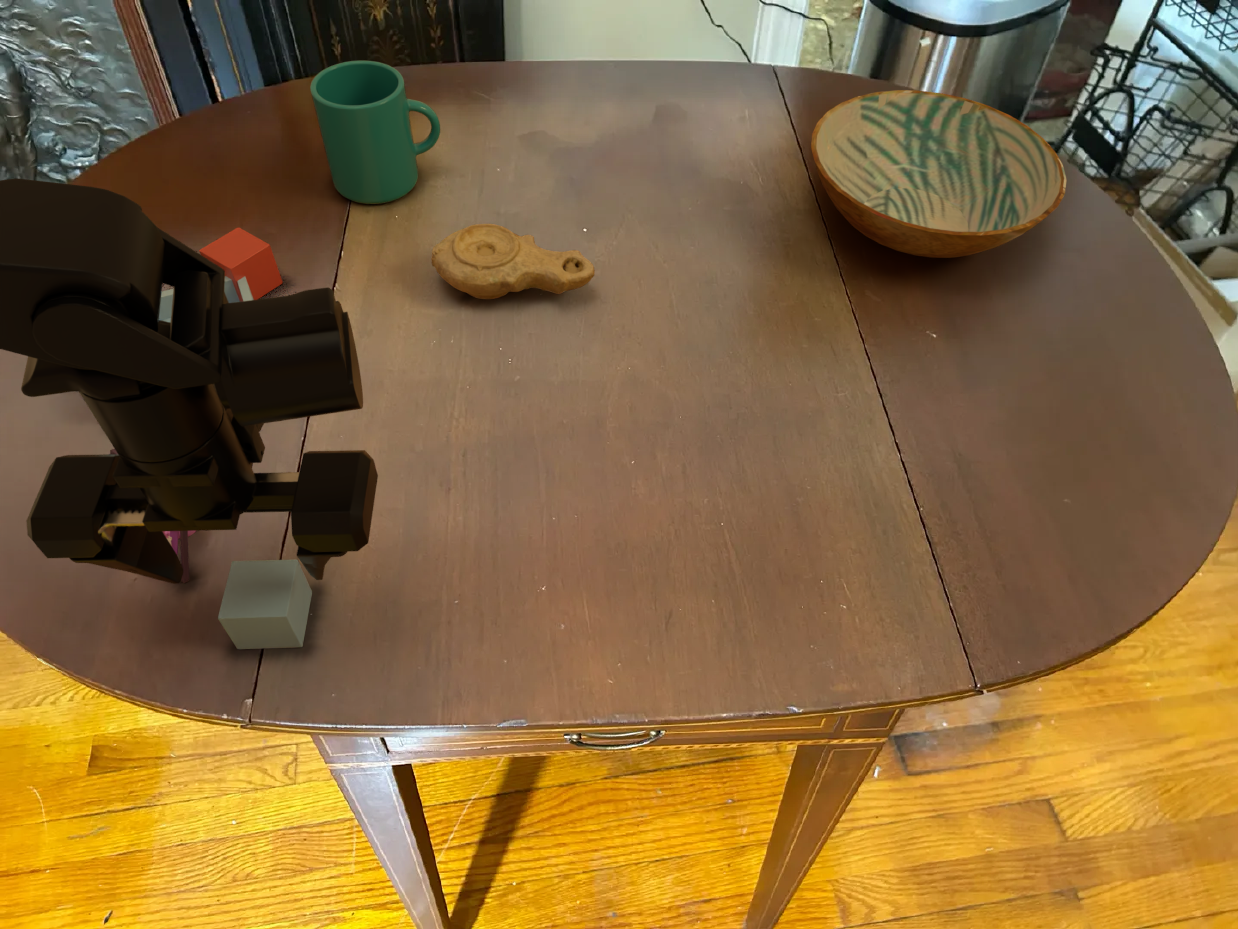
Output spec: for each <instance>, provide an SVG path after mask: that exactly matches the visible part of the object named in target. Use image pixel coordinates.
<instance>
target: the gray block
mask: <svg viewBox="0 0 1238 929" xmlns="http://www.w3.org/2000/svg"><path fill="white" fill-rule="evenodd" d="M312 596H313V590H312V589H311V586H310V583H309V581H308V579H307V577H306V574H305V573H304V571H303V569H302V566H301V564H300V562H299V559H298V558H296V559H264V560H263V559H261V560H259V559H257V560H232V561H231V564H230V568H229V571H228V574H227V579H226V583H225V588H224V592H223V596H222V598H221V599H222V600H221V602H220V608H219V612H218V615H217V619H218V621H219V623H220V624H221V626H222V628H223V629H224V630H225V632H226V634H227V635H228V637H229V639H230V640H231V641H232V643H233V644H234V646H235V647H236V649H237V650H254V649H255V650H257V649H259V650H260V649H291V648H303V646H304V640H305V635H306V629H307V624H308V619H309V614H310V607H311V602H312Z"/></svg>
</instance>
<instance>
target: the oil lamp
mask: <svg viewBox="0 0 1238 929" xmlns="http://www.w3.org/2000/svg"><path fill="white" fill-rule="evenodd" d="M430 260H431V265H432V267H433V268H434V269H435V270H436V272H437V274H438V275H439V276H440V277H441V279H442V280H444V281H445V282H446V283H448V284H449V285H450V286H451V287H452V288H455V289H456V290H458V291H460V292H463V293H467V294H468V295H469V296H471V297H473V298H476V299H481V300H493V299H499V298H502V297H504V296H506V295H508V293H518V292H521V291H523V290H529V289H539V290H542V291H547V292H550V293H554V294H556V295H560V294H563V293H564V292H568V291H573V290H578V289H579V288H582V287H584V286H585V285H587V284H589V283H590V282H591V280H592V279H593V278H594V276H595V271H596V270H595V266H594V264H593V263H592V262H591V261H590V260H589V259H588V258H586V257H585V256H584V255H582V253H581V251H580V250H577V249H571V250H566V251H555V250H548V249H545V248H542V247H540V246H538V245H537V244H536V241H535V237H534V235H531V234H525V235H522V236H520V235H518V234H517V233H514V231H513V232H512V230H510V229H508V228H507V227H505V226H503V225H499V224H494V223H479V224H478V223H477V224H476V223H475V224H471V225H468V226H467V227H464V228H462V229H459V230H457V231H455V232H453V233H451V234H449V235H448V236H446V237H444V238H443V239H442V240H441V241H440V242H439V243H436V244H435V245H434V246H433V248H432V250H431V259H430Z"/></svg>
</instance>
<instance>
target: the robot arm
mask: <svg viewBox="0 0 1238 929" xmlns="http://www.w3.org/2000/svg"><path fill="white" fill-rule="evenodd" d="M163 284H164V285H167V286H171V287H173V288H172V289H173V301H172V312H171V323H170V322H166V321H161V320H159V313H160V303H161V293H162V291H163ZM224 286H225V271H224V270H223V269H222V268H221V267H219V266H218V265H216V264H214V263H213V262H211V261H210V260H208V259H207V258H205V257H203V256H202V255H201V254H200V252H197V251H196V250H194V249H193V248H191V247H189V246H188V245H186V244H184V243H183V242H181V241H180V240H178V239H177V238H175V237H173V236H172V235H170V234H169V233H167V232H166V231H164V230H163V229H161V228H159V227H158V226H157V225H156V224H155V223H154V222H153V221H152V220H151V219H150V218H149V217H148V216H147V214H146V213H145V212H143V208H142V206H141V205H140V204H139V203H137V202H135V201H133V200H132V199H130V198H129V197H127V196H125V195H122V194H119V193H117V192H114V191H112V190H109V189H106V188H100V187H96V186H88V185H79V184H73V183H71V184H70V183H63V182H53V181H46V180H45V181H44V180H35V179H26V178H17V177H16V178H7V179H0V350H3V351H5V352H10V353H14V354H18V355H20V356H21V355H22V356H25V357H27V359H26V364H25V368H24V372H23V377H22V382H21V387H20V391H21V393H22V394H23V395H24V396H26V397H29V398H30V397H31V398H36V397H44V396H51V395H57V394H66V393H73V392H74V393H75V392H77V393H79V395H80V396H81V398H82V400H83V401H84V402H85V404H86V405H87V407H88V408H89V410H90V412H91V413H92V415H93V416H94V418H95V419H96V422H97V423H98V424H99V426H100V428H101V429H102V431H103V432H104V434H105V436H106V438H107V439H108V440H109V442H110V443H111V445H112V447H113V449H115V450H116V452H117V453H118V454H110V453H109V454H105V453H103V454H66V455H61V456H56V457H55V459H54V460H53V461H52V463H51V464H50V465H49V467H48V470H47V471H46V473H45V476H44V478H43V481H42V483H41V486H40V488H39V490H38V493H37V495H36V497H35V499H34V502H33V503H32V506H31V508H30V511H29V514H28V516H27V518H26V521H25V522H26V531H27V532H26V534H27V537H28V538H30V540H31V541H32V543H34V544H35V545H36V547H37V548H38V549H39V550H40V552H41V553H42V554H43V555H44V556H45V557H46V559H69V560H70V561H71V562H74V563H76V564H90V565H94V566H99V567H103V568H107V569H112V570H117V571H122V572H127V573H131V574H134V575H139V576H143V577H146V578H149V579H150V578H151V579H155V580H158V581H162V582H165V583H169V584H174V585H175V584H177V585H179V584H181V583H182V581H181V579H182V575H183V567H182V565H181V559H180V558H179V556H178V554H176V552H175V551H174V549H173V548H172V546H171V544H170V543H169V541H168V540H167V538H166V537H165V535H164V533H163V532H162V531H196V532H199V531H201V532H202V531H237V529H238V524H239V521H240V516H241V515H243V514H246V513H288V512H290V523H291V536H292V539H293V541H294V543H295V545H296V546H297V550H296V557H297V559H298V561H300V563H301V564H302V566H303V567H304V568H305V570H306V572H307V573H308V574H309V576H310V577H311V578H313V579H314V580H315V581H322V580H323V579H324V574H325V568H326V565H327V563H328V562H329V561H330V560H331V559H332V558H341V557H343V556H345V555H347V553H348V552H349V553H350V552H359V551H360V550H362V549H363V548H364V547H365V546H366V545H368V544H369V542H370V536H371V535H370V534H371V527H372V519H373V513H374V508H375V507H374V505H375V500H376V492H377V486H378V485H377V484H378V478H379V474H378V471H377V467H376V463H375V460H374V458H373V457H372V456H371V455H370V454H369V453H368V452H367V451H366V450H365V449H361V450H360V449H359V450H358V449H357V450H355V449H353V450H349V449H348V450H309V451H306V452H303V454H302V459H301V462H300V468H299V471H292V472H291V471H290V472H289V471H288V472H287V471H286V472H285V471H283V472H254V469H253V465H254V464H261V463H262V462H263V458H264V454H265V450H266V445H265V443H264V441H263V439H262V436H261V433H260V432H261V430H262V429H263V427H264V425H265V424H270V423H277V422H283V421H289V420H296V419H303V418H310V417H316V416H322V415H323V416H325V415H329V414H337V413H344V412H351V411H357V410H363V408H364V392H363V384H362V377H361V370H360V363H359V359H358V358H359V357H358V352H357V351H358V350H357V346H356V341H355V338H354V333H353V328H352V323H351V320H350V316H349V313H348V311H344V309H343V306H342V304H341V302H340V301H339V300H336V297H335V292H334V290H333V289H332V288H330V287H320V288H311V289H305V290H302V291H299V292H296V293H293V294H288V295H282V296H281V295H280V296H275V297H266V298H259V299H257V300H250V301H242V302H234V303H229V302H228V300H227V297H226V295H225V292H224Z"/></svg>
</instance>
